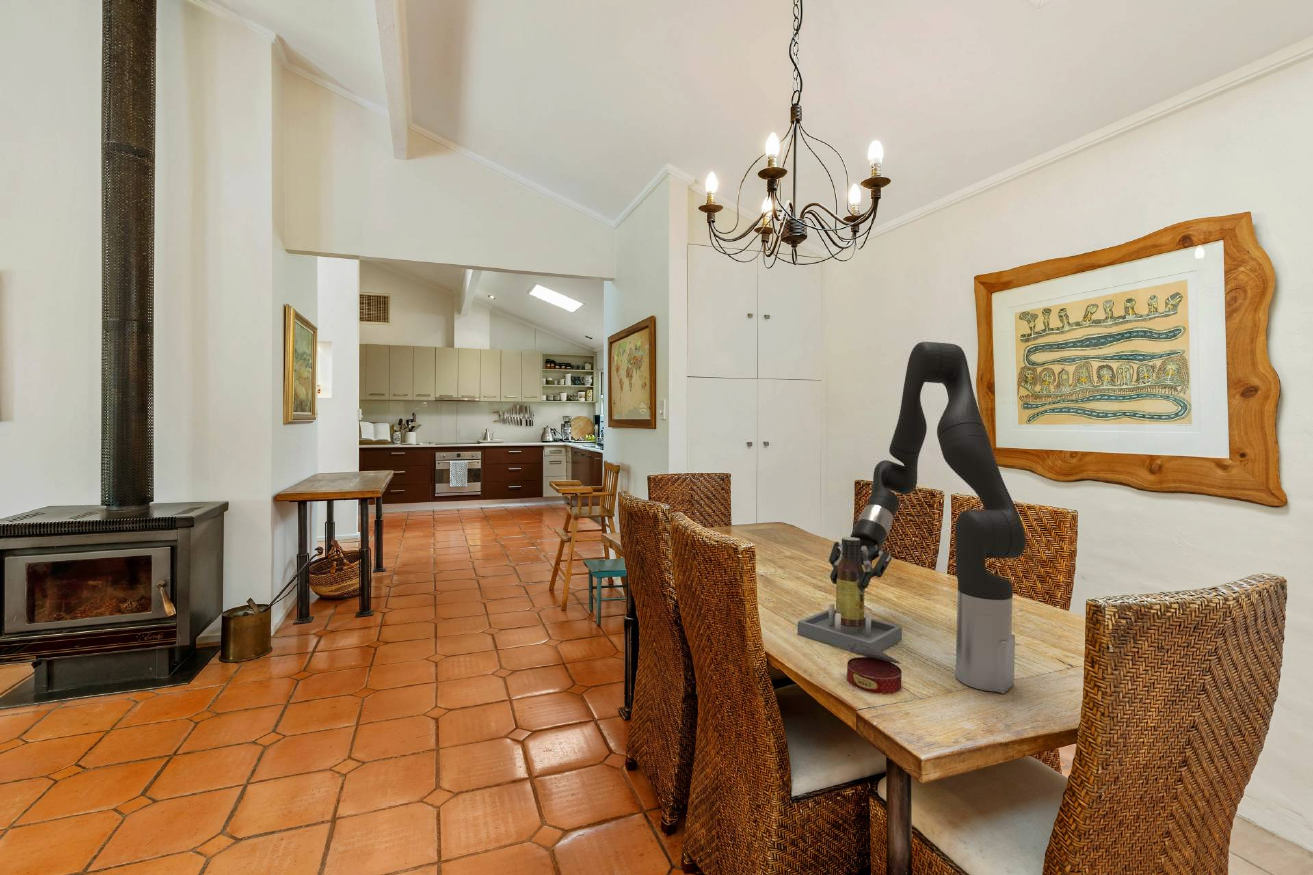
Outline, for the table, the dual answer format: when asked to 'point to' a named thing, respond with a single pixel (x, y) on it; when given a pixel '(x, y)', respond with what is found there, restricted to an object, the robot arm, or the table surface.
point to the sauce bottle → (850, 584)
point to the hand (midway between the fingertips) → (846, 585)
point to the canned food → (873, 670)
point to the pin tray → (849, 630)
